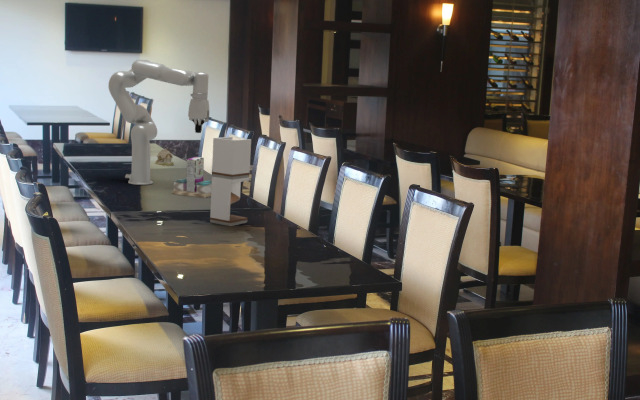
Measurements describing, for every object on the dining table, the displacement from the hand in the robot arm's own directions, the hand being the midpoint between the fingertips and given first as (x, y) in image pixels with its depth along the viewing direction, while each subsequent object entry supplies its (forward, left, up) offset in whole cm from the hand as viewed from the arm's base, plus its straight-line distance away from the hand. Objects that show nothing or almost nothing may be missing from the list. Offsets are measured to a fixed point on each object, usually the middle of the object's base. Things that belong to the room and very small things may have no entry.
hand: (198, 132), depth 411 cm
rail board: (+7, -15, -29) cm, 34 cm away
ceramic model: (-60, +76, -30) cm, 101 cm away
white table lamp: (+51, -71, -29) cm, 93 cm away
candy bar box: (+7, -15, -28) cm, 33 cm away
